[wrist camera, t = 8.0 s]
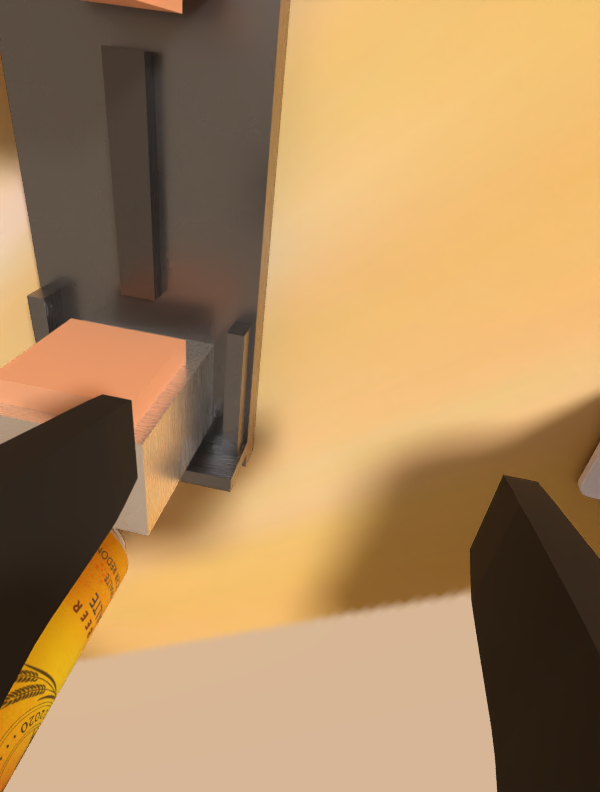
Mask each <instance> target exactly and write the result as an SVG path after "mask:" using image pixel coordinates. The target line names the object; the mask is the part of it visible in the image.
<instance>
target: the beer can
mask: <svg viewBox="0 0 600 792" xmlns="http://www.w3.org/2000/svg"><path fill="white" fill-rule="evenodd" d="M127 569H128V559H127V555H126V547H125V542H124V540H123V537H122V535H121V534H120V532H119V531H118V529H116V528H112V529H111V531H110V532H109V534H108V535H107V537H106V538H105V540H104V541H103V543H102V544H101V546H100V547H99V549H98V550H97V552H96V553H95V555H94V556H93V558H92V559H91V561H90V562H89V564H88V565H87V567H86V568H85V569H84V571H83V572H82V574H81V575H80V577H79V578H78V580H77V581H76V583H75V584H74V586H73V587H72V589H71V590H70V592H69V593H68V595H67V596H66V598H65V599H64V600H63V602H62V603H61V605H60V606H59V608H58V609H57V611H56V612H55V614H54V615H53V617H52V618H51V620H50V621H49V623H48V625H47V626H46V628H45V629H44V631H43V633H42V634H41V636H40V637H39V639H38V641H37V642H36V644H35V646H34V647H33V649H32V651H31V653H30V655H29V657H28V658H27V660H26V662H25V664H24V666H23V668H22V669H21V671H20V673H19V675H18V677H17V679H16V680H15V682H14V684H13V686H12V688H11V690H10V691H9V693H8V695H7V697H6V699H5V701H4V703H3V705H2V707H1V709H0V792H3V790H4V789H5V787H6V785H7V783H8V781H9V779H10V778H11V776H12V775H13V773H14V771H15V769H16V767H17V766H18V764H19V762H20V760H21V759H22V757H23V755H24V753H25V751H26V749H27V748H28V746H29V744H30V743H31V741H32V739H33V737H34V735H35V734H36V732H37V730H38V728H39V726H40V725H41V723H42V721H43V719H44V718H45V716H46V714H47V712H48V711H49V709H50V707H51V705H52V704H53V702H54V700H55V698H56V696H57V695H58V693H59V691H60V689H61V688H62V686H63V684H64V682H65V681H66V679H67V677H68V675H69V674H70V672H71V670H72V668H73V666H74V665H75V663H76V661H77V659H78V658H79V656H80V654H81V652H82V651H83V649H84V647H85V645H86V643H87V642H88V640H89V638H90V636H91V635H92V633H93V631H94V629H95V628H96V626H97V624H98V622H99V620H100V619H101V617H102V615H103V613H104V612H105V610H106V608H107V606H108V604H109V603H110V601H111V599H112V597H113V596H114V594H115V592H116V590H117V589H118V587H119V585H120V583H121V581H122V580H123V578H124V576H125V574H126V572H127Z"/></svg>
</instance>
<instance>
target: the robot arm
mask: <svg viewBox="0 0 600 792" xmlns="http://www.w3.org/2000/svg"><path fill="white" fill-rule="evenodd" d="M137 479H138V474H137V461H136V449H135V436H134V423H133V411H132V400H129V399H124V398H119V397H114V396H109V395H104V394H102V395H100V396H97V397H95V398H93V399H90V400H88V401H86V402H84V403H82V404H80V405H78V406H76V407H74V408H72V409H70V410H68V411H66V412H64V413H62V414H60V415H58V416H56V417H54V418H52V419H50V420H48V421H46V422H44V423H42V424H40V425H38V426H36V427H34V428H32V429H30V430H28V431H26V432H24V433H22V434H20V435H18V436H16V437H14V438H12V439H10V440H8V441H6V442H4V443H2V444H0V709H1V707H2V705H3V703H4V701H5V699H6V697H7V695H8V693H9V691H10V690H11V688H12V686H13V684H14V682H15V680H16V679H17V677H18V675H19V673H20V671H21V669H22V668H23V666H24V664H25V662H26V660H27V658H28V657H29V655H30V653H31V651H32V649H33V647H34V646H35V644H36V642H37V641H38V639H39V637H40V636H41V634H42V633H43V631H44V629H45V628H46V626H47V625H48V623H49V621H50V620H51V618H52V617H53V615H54V614H55V612H56V611H57V609H58V608H59V606H60V605H61V603H62V602H63V600H64V599H65V598H66V596H67V595H68V593H69V592H70V590H71V589H72V587H73V586H74V584H75V583H76V581H77V580H78V578H79V577H80V575H81V574H82V572H83V571H84V569H85V568H86V567H87V565H88V564H89V562H90V561H91V559H92V558H93V556H94V555H95V553H96V552H97V550H98V549H99V547H100V546H101V544H102V543H103V541H104V540H105V538H106V537H107V535H108V534H109V532H110V531H111V529H112V527H113V526H114V524H115V523H116V521H117V519H118V517H119V515H120V513H121V512H122V510H123V508H124V506H125V504H126V502H127V500H128V498H129V496H130V493H131V491H132V489H133V487H134V485H135V483H136V481H137ZM578 487H579V489H580V491H581V493H582V494H583V495H585V496H587V497H591V498H596V499H600V442H599V444H598V446H597V448H596V450H595V451H594V453H593V455H592V457H591V459H590V460H589V462H588V464H587V466H586V467H585V469H584V471H583V473H582V475H581V476H580V478H579V480H578ZM470 574H471V600H472V607H473V615H474V621H475V628H476V634H477V641H478V646H479V653H480V660H481V666H482V672H483V678H484V684H485V691H486V696H487V703H488V709H489V715H490V722H491V728H492V737H493V744H494V753H495V764H496V780H497V792H600V559H599V557H598V556H597V555H596V554H595V552H594V551H593V550H592V549H591V548H590V546H589V545H588V544H587V543H586V541H585V540H584V539H583V538H582V536H581V535H580V534H579V533H578V531H577V530H576V529H575V528H574V526H573V525H572V524H571V523H570V521H569V520H568V519H567V518H566V516H565V515H564V514H563V513H562V511H561V510H560V509H559V507H558V506H557V505H556V504H555V502H554V501H553V500H552V499H551V498H550V496H549V495H548V494H547V493H546V491H545V490H544V489H543V488H542V487H541V486H540V484H539V483H538V482H535V481H530V480H526V479H521V478H516V477H511V476H506V475H503V477H502V479H501V482H500V484H499V486H498V488H497V491H496V493H495V495H494V497H493V500H492V502H491V504H490V506H489V508H488V511H487V513H486V515H485V517H484V520H483V522H482V524H481V526H480V529H479V531H478V533H477V535H476V537H475V540H474V542H473V544H472V546H471V549H470Z"/></svg>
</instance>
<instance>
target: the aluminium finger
mask: <svg viewBox="0 0 600 792" xmlns="http://www.w3.org/2000/svg"><path fill="white" fill-rule="evenodd" d="M213 376H214V344H209V343H204V342H199V341H194V340H188V339H183V338H178V337H172V336H167V335H162V334H156V333H151V332H146V331H141V330H135V329H130V328H125V327H119V326H114V325H109V324H104V323H98V322H93V321H88V320H77V319H72V318H71V319H70V320H68V321H67V322H65V323H64V324H63V325H61V326H60V327H58V328H57V329H56V330H54V331H53V332H51V333H50V334H49V335H47V336H46V337H44V338H43V339H42V340H40V341H39V342H37V343H36V344H35V345H33V346H32V347H30V348H29V349H28V350H26V351H25V352H23V353H22V354H21V355H19V356H18V357H16V358H15V359H14V360H12V361H11V362H9V363H8V364H7V365H5V366H4V367H3V368H1V369H0V444H2V443H4V442H6V441H8V440H10V439H12V438H14V437H16V436H18V435H20V434H22V433H24V432H26V431H28V430H30V429H32V428H34V427H36V426H38V425H40V424H42V423H44V422H46V421H48V420H50V419H52V418H54V417H56V416H58V415H60V414H62V413H64V412H66V411H68V410H70V409H72V408H74V407H76V406H78V405H80V404H82V403H84V402H86V401H88V400H90V399H93V398H95V397H97V396H100V395H102V394H104V395H109V396H114V397H119V398H124V399H129V400H132V411H133V423H134V436H135V449H136V461H137V474H138V479H137V481H136V483H135V485H134V487H133V489H132V491H131V493H130V496H129V498H128V500H127V502H126V504H125V506H124V508H123V510H122V512H121V513H120V515H119V517H118V519H117V521H116V523H115V524H114V526H113V527H112V528H116V529H120V530H125V531H129V532H134V533H138V534H143V535H147V536H149V534H150V532H151V530H152V529H153V527H154V525H155V523H156V522H157V520H158V518H159V516H160V514H161V513H162V511H163V509H164V507H165V506H166V504H167V502H168V500H169V498H170V497H171V495H172V493H173V491H174V490H175V488H176V486H177V484H178V482H179V481H180V479H181V477H182V475H183V474H184V472H185V470H186V468H187V466H188V465H189V463H190V461H191V459H192V458H193V456H194V454H195V452H196V450H197V449H198V447H199V445H200V443H201V442H202V440H203V438H204V436H205V434H206V433H207V431H208V429H209V427H210V426H211V424H212V414H213Z"/></svg>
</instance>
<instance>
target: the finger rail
mask: <svg viewBox="0 0 600 792" xmlns="http://www.w3.org/2000/svg"><path fill="white" fill-rule="evenodd" d="M289 10H290V0H0V53H1V59H2V65H3V71H4V76H5V82H6V88H7V94H8V100H9V105H10V111H11V117H12V123H13V129H14V134H15V140H16V146H17V152H18V158H19V164H20V169H21V175H22V181H23V187H24V193H25V198H26V204H27V210H28V216H29V222H30V227H31V233H32V239H33V245H34V251H35V256H36V262H37V268H38V274H39V280H40V286H41V288H40V289H38V290H36V291H35V292H33V293H31V294H29V295H28V296H27V298H28V304H29V309H30V314H31V320H32V325H33V330H34V335H35V341H36V343H37V342H39V341H40V340H42V339H43V338H44V337H46V336H47V335H49V334H50V333H51V332H53V331H54V330H56V329H57V328H58V327H60V326H61V325H63V324H64V323H65V322H67V321H68V320H70V319H71V318H72V319H77V320H88V321H93V322H98V323H104V324H109V325H114V326H119V327H125V328H130V329H135V330H141V331H146V332H151V333H156V334H162V335H167V336H172V337H178V338H183V339H188V340H194V341H199V342H204V343H209V344H214V376H213V414H212V424H211V426H210V427H209V429H208V431H207V433H206V434H205V436H204V438H203V440H202V442H201V443H200V445H199V447H198V449H197V450H196V452H195V454H194V456H193V458H192V459H191V461H190V463H189V465H188V466H187V468H186V470H185V472H184V474H183V475H182V477H181V479H180V481H182V482H186V483H191V484H196V485H200V486H205V487H210V488H214V489H219V490H224V491H228V492H230V491H231V489H232V487H233V484H234V482H235V480H236V477H237V475H238V473H239V470H240V468H241V466H245V467H246V464H247V462H248V459H249V457H250V455H251V452H252V450H253V440H254V428H255V417H256V405H257V393H258V381H259V369H260V357H261V345H262V333H263V321H264V309H265V297H266V285H267V273H268V261H269V249H270V237H271V225H272V213H273V201H274V189H275V177H276V165H277V153H278V141H279V129H280V117H281V105H282V93H283V81H284V70H285V58H286V46H287V34H288V22H289Z"/></svg>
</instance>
